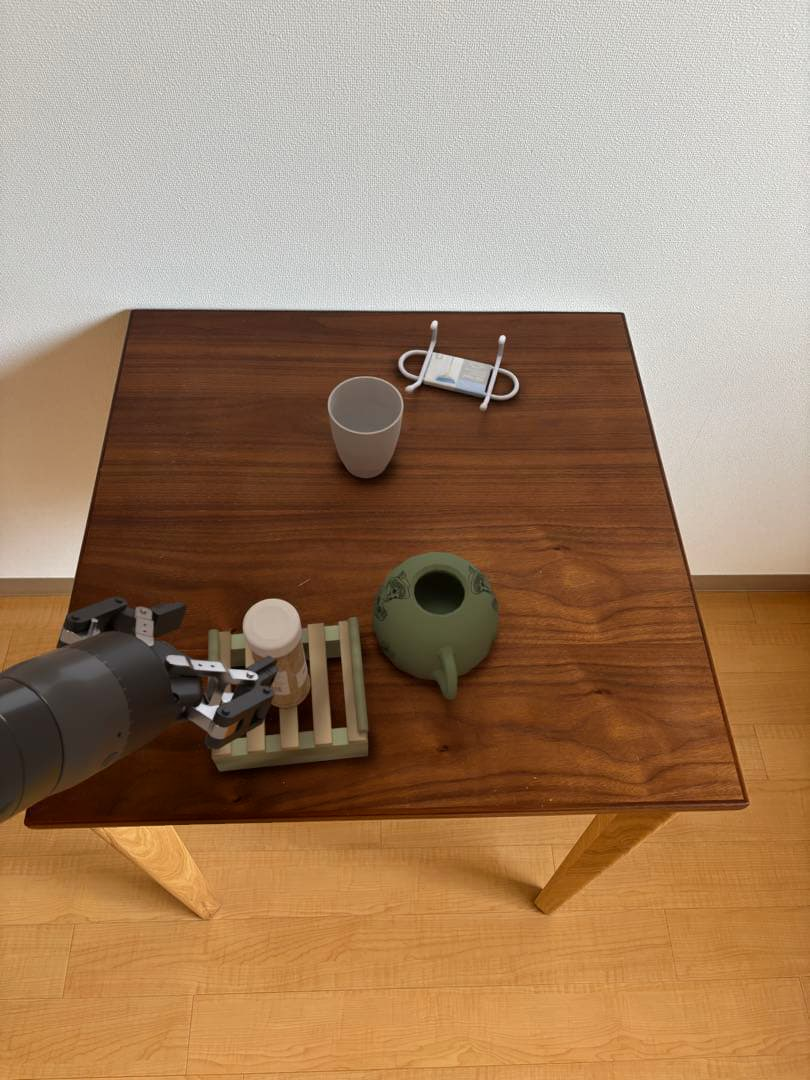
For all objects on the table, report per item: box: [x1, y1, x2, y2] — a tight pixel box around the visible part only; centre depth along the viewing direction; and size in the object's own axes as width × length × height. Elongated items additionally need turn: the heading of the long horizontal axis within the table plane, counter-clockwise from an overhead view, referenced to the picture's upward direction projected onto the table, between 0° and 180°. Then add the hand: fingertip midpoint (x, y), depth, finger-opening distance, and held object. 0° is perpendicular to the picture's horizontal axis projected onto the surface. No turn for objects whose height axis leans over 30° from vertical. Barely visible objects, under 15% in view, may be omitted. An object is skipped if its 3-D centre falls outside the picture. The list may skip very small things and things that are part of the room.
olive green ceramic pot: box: [371, 551, 499, 701], centre depth 80 cm, size 16×13×9 cm
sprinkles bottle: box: [242, 598, 311, 708], centre depth 70 cm, size 5×5×13 cm
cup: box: [327, 375, 404, 479], centre depth 92 cm, size 8×8×10 cm
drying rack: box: [206, 616, 369, 772], centre depth 77 cm, size 14×12×6 cm
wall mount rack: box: [397, 320, 520, 412], centre depth 100 cm, size 16×14×6 cm
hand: (224, 640), depth 62 cm, fingers open, 8 cm apart
